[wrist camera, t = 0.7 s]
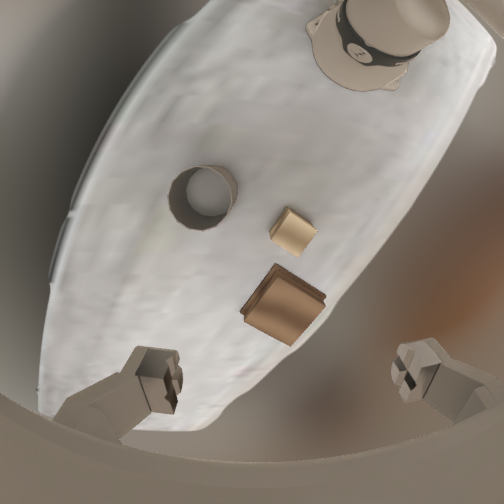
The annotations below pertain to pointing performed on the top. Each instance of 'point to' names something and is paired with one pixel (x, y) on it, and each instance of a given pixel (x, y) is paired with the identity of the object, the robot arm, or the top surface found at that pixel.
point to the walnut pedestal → (283, 305)
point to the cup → (202, 197)
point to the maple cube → (292, 232)
